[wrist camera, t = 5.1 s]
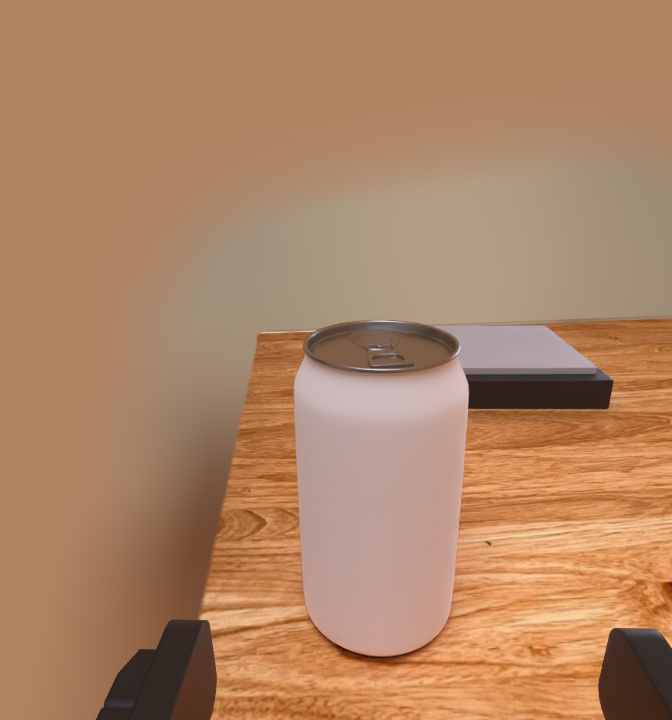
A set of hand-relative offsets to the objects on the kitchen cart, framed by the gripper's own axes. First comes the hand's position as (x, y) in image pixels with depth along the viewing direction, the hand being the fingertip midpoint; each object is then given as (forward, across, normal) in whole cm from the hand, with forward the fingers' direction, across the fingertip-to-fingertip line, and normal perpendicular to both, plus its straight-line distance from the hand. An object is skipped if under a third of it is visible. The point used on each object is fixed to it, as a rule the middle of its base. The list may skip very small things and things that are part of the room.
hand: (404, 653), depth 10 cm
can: (+10, 0, +9) cm, 13 cm away
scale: (+36, -12, +8) cm, 39 cm away
